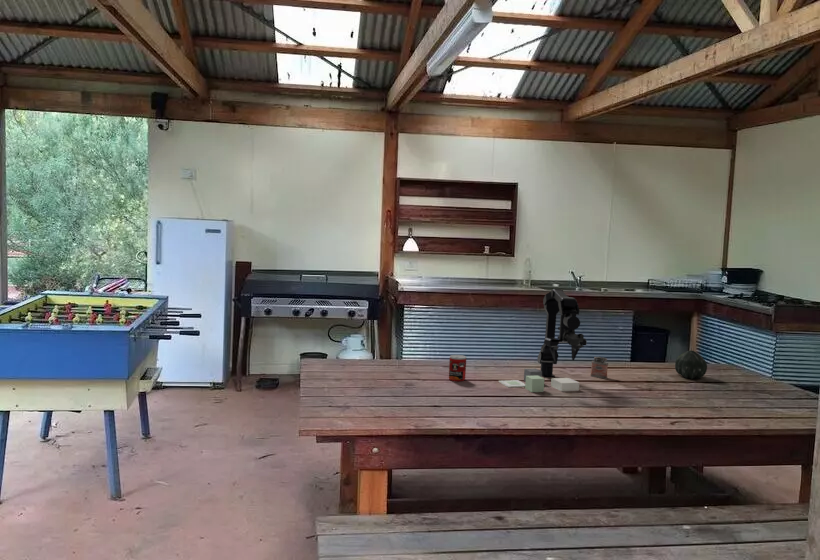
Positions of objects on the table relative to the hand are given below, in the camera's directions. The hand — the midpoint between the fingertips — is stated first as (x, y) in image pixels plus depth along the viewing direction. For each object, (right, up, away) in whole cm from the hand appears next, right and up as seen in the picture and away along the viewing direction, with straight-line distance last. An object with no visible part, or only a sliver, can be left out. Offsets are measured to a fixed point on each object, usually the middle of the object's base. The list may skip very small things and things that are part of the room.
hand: (564, 360), depth 286 cm
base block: (+1, -14, +5) cm, 15 cm away
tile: (-22, -12, +8) cm, 26 cm away
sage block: (-13, -13, 0) cm, 19 cm away
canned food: (-47, -11, +13) cm, 50 cm away
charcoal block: (-12, -12, +14) cm, 22 cm away
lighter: (+25, -12, +31) cm, 42 cm away
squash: (+73, -14, +40) cm, 85 cm away
